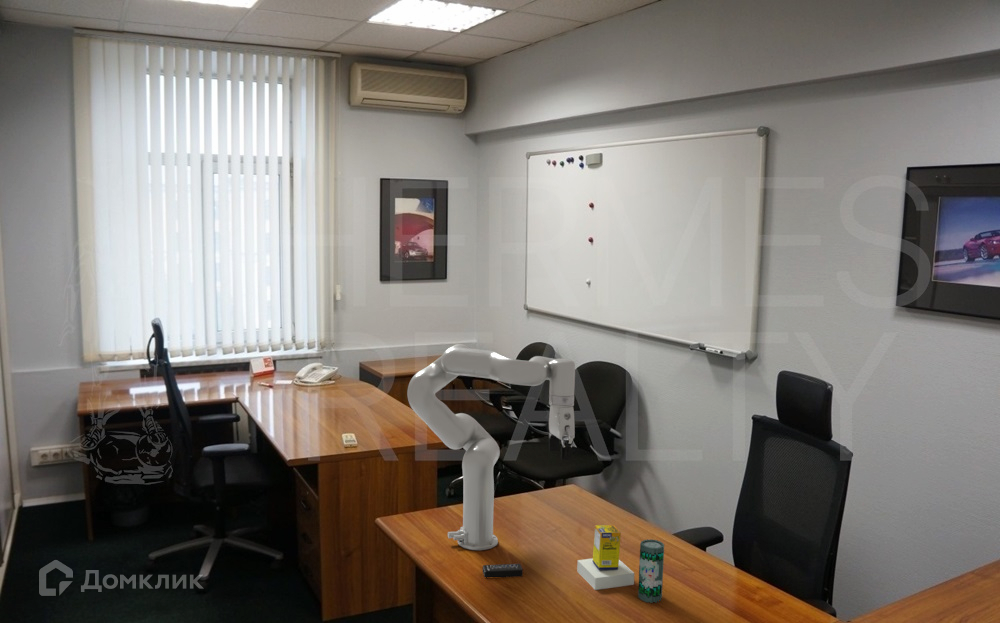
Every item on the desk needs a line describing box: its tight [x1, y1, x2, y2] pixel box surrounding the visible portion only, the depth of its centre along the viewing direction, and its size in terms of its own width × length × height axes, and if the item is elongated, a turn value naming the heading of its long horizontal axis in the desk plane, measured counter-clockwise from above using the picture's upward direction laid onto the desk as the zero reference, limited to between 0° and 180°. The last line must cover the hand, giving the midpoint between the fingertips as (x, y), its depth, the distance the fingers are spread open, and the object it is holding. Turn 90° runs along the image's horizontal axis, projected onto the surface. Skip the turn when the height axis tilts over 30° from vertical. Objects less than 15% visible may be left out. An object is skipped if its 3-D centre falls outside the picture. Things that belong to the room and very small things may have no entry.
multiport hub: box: [482, 563, 524, 579], centre depth 220 cm, size 4×11×2 cm, turn 98°
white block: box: [576, 557, 635, 591], centre depth 219 cm, size 12×12×4 cm
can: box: [637, 538, 665, 604], centre depth 207 cm, size 6×6×15 cm
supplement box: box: [592, 524, 622, 570], centre depth 218 cm, size 6×6×11 cm
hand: (559, 455), depth 233 cm, fingers open, 9 cm apart
